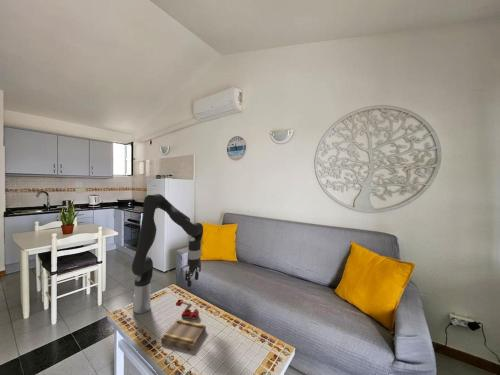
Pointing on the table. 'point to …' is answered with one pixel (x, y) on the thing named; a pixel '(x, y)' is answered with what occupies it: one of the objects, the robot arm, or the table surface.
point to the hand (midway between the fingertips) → (193, 282)
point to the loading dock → (183, 334)
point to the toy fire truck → (188, 310)
